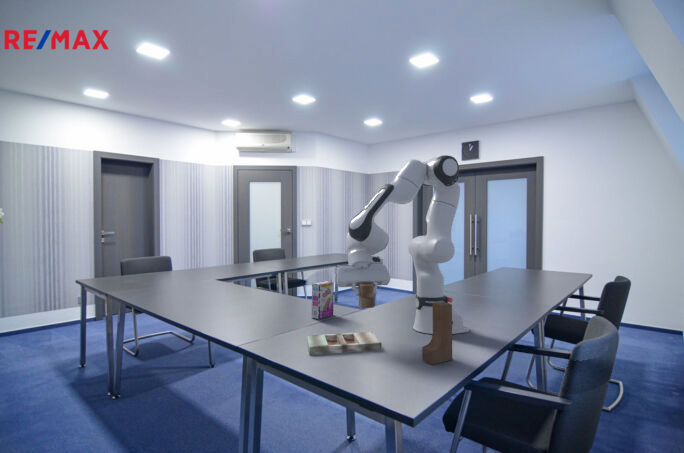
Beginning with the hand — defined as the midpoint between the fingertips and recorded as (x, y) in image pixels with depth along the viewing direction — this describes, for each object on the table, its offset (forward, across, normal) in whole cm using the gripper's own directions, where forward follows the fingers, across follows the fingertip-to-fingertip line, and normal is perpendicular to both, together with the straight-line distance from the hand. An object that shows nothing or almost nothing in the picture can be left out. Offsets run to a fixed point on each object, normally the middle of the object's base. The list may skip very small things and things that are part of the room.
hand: (366, 294), depth 124 cm
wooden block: (+26, +19, +1) cm, 32 cm away
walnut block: (+3, 0, +4) cm, 4 cm away
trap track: (+12, -9, +13) cm, 20 cm away
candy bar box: (-17, -11, +43) cm, 47 cm away
